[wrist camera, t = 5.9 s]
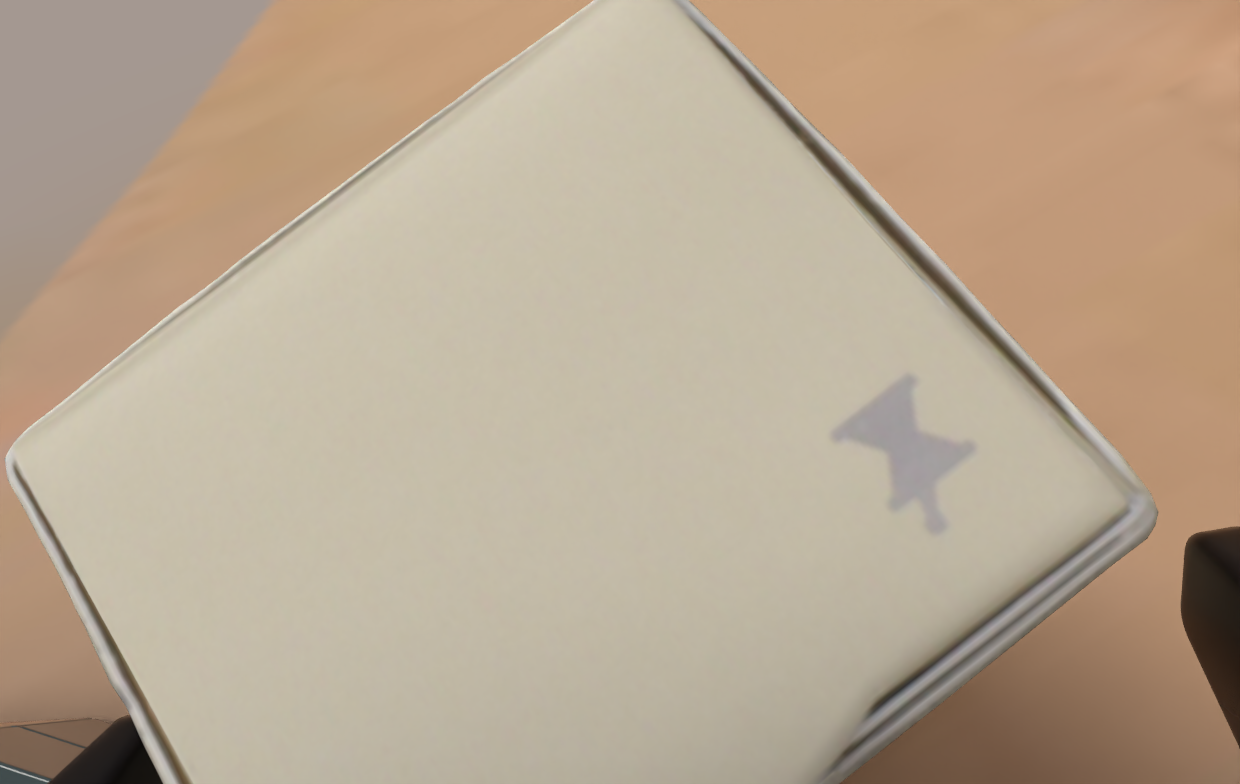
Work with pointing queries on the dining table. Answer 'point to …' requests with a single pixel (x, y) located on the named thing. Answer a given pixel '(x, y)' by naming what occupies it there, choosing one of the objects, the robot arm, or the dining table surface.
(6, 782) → the bowl
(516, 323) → the box
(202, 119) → the dining table surface
